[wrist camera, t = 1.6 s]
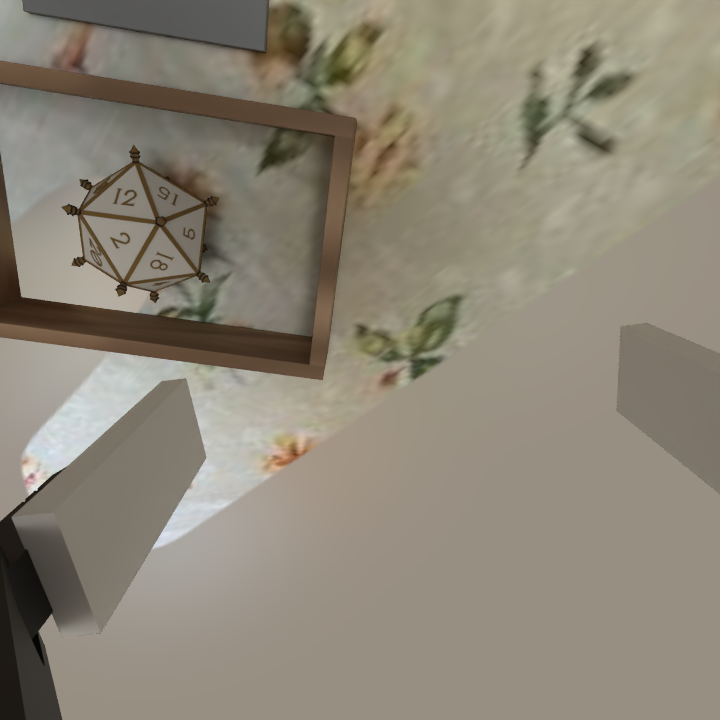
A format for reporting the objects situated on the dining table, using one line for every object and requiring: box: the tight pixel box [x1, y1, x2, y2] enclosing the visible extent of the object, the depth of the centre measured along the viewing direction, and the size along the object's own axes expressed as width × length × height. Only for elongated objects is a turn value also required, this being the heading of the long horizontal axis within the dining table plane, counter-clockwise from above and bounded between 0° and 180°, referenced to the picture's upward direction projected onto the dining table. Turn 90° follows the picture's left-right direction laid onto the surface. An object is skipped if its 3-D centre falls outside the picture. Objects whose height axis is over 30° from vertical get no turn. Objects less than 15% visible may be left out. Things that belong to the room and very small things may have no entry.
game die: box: [62, 145, 219, 303], centre depth 29 cm, size 9×8×10 cm
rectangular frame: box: [0, 61, 357, 380], centre depth 31 cm, size 16×24×5 cm, turn 82°
